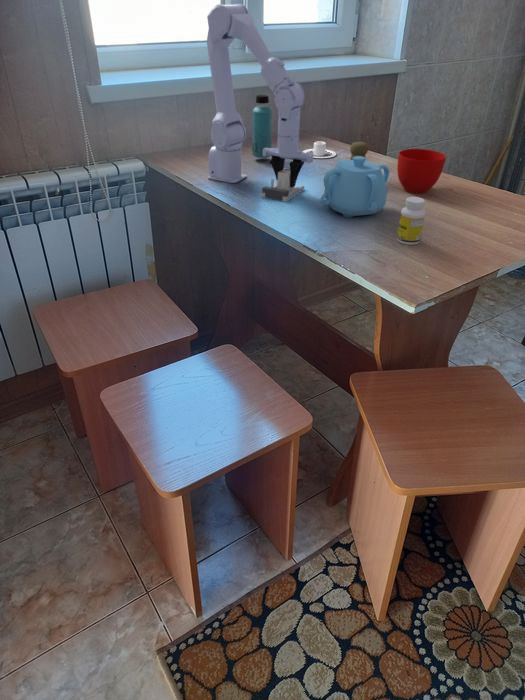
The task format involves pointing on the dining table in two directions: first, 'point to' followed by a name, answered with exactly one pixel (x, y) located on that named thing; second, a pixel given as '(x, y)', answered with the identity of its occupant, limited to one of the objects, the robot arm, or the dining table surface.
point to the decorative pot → (356, 187)
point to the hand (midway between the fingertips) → (286, 185)
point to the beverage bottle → (261, 127)
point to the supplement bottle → (411, 221)
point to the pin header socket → (279, 191)
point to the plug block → (285, 179)
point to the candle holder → (320, 150)
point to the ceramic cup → (419, 169)
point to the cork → (358, 149)
